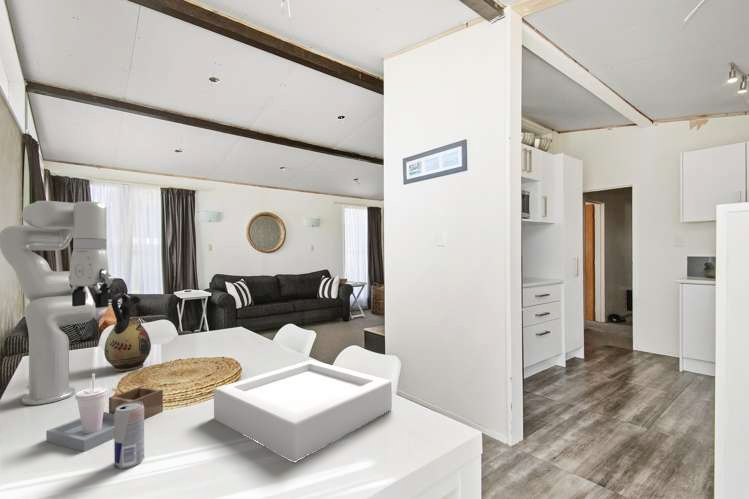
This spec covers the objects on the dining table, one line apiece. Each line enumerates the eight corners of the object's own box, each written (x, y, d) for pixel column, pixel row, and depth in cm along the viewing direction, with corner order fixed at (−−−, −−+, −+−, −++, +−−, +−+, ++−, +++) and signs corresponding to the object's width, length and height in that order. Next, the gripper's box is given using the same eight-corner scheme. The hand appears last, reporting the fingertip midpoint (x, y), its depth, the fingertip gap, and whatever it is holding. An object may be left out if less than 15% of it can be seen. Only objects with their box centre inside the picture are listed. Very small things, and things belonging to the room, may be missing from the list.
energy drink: (123, 456, 82) (123, 401, 82) (149, 454, 82) (149, 400, 82) (108, 470, 77) (108, 412, 77) (135, 468, 77) (135, 410, 77)
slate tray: (46, 441, 89) (46, 430, 89) (98, 420, 100) (98, 410, 100) (84, 451, 84) (84, 440, 84) (135, 428, 95) (135, 418, 95)
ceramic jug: (126, 362, 155) (126, 290, 156) (159, 363, 153) (159, 290, 154) (89, 375, 139) (89, 295, 139) (126, 376, 136) (126, 295, 137)
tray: (212, 420, 101) (212, 387, 101) (311, 384, 128) (311, 359, 128) (294, 466, 78) (293, 424, 78) (393, 411, 105) (392, 380, 105)
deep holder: (108, 419, 100) (108, 397, 100) (140, 407, 109) (140, 386, 109) (132, 425, 97) (132, 402, 97) (162, 411, 105) (162, 390, 106)
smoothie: (91, 437, 89) (90, 378, 89) (68, 435, 90) (67, 377, 90) (114, 424, 95) (113, 370, 95) (93, 423, 96) (92, 369, 96)
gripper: (55, 246, 104) (55, 307, 104) (96, 244, 98) (96, 309, 98) (84, 246, 111) (84, 303, 111) (124, 245, 105) (124, 306, 105)
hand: (90, 306), depth 104 cm, fingers open, 9 cm apart
